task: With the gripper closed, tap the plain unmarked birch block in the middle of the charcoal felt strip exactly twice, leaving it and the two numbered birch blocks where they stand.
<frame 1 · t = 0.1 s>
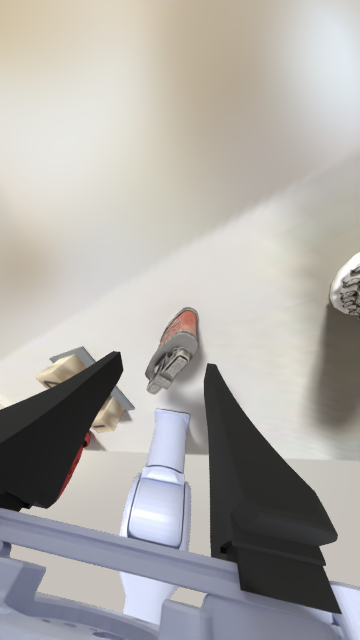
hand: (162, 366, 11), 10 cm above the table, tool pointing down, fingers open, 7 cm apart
block one: (111, 404, 31), resting on felt strip
block seven: (74, 364, 27), resting on felt strip
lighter: (178, 327, 21), on the table
felt strip: (96, 384, 29), on the table
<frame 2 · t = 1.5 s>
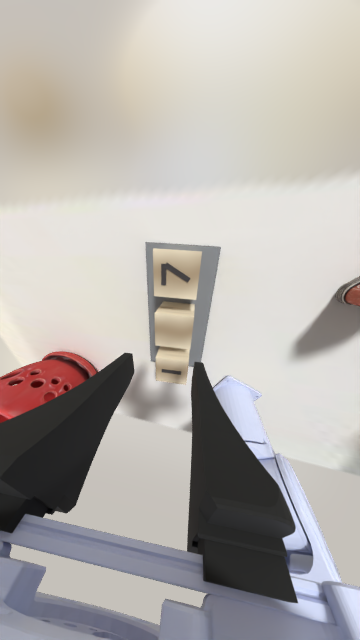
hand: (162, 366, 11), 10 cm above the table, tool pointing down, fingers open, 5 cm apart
block one: (175, 351, 23), resting on felt strip
block seven: (180, 271, 17), resting on felt strip
felt strip: (178, 315, 20), on the table
plain block: (177, 316, 20), resting on felt strip
plant pot: (75, 367, 28), on the table
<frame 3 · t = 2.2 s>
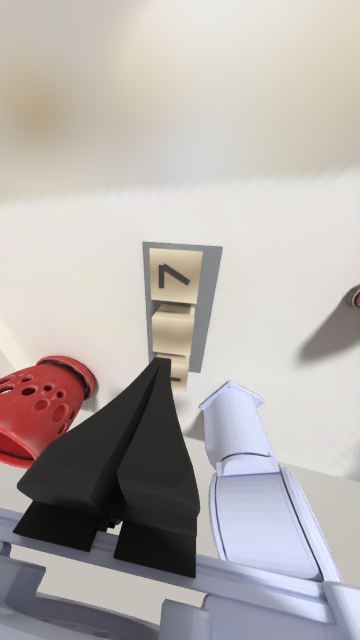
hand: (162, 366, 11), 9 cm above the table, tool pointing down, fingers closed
block one: (175, 355, 22), resting on felt strip
block seven: (180, 272, 16), resting on felt strip
felt strip: (177, 319, 19), on the table
plain block: (177, 320, 19), resting on felt strip
plant pot: (71, 371, 27), on the table
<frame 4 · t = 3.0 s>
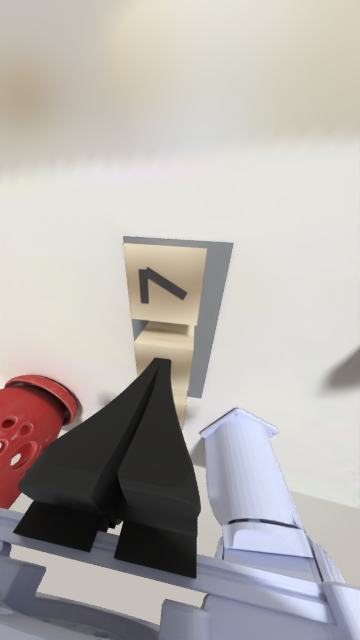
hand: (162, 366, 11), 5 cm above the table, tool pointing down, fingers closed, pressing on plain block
block one: (170, 378, 18), resting on felt strip
block seven: (174, 278, 12), resting on felt strip
felt strip: (172, 336, 15), on the table
plain block: (172, 338, 15), resting on felt strip, touching gripper
plant pot: (50, 391, 23), on the table
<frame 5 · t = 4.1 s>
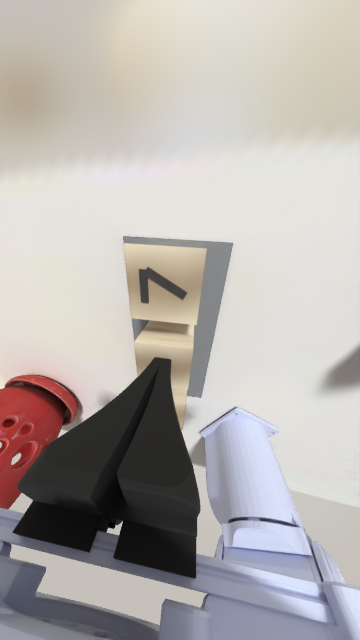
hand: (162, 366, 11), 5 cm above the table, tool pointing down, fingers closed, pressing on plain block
block one: (170, 378, 18), resting on felt strip
block seven: (174, 277, 12), resting on felt strip
felt strip: (172, 335, 15), on the table
plain block: (172, 337, 15), resting on felt strip, touching gripper
plant pot: (50, 391, 23), on the table
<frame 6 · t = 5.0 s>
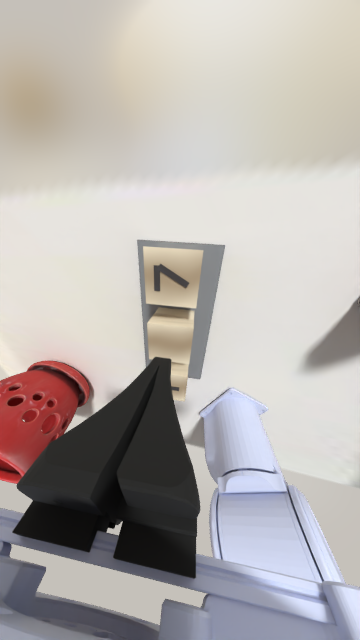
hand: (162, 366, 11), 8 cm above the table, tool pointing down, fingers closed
block one: (173, 361, 20), resting on felt strip
block seven: (178, 273, 15), resting on felt strip
felt strip: (176, 323, 18), on the table
plain block: (175, 324, 18), resting on felt strip
plant pot: (65, 377, 26), on the table
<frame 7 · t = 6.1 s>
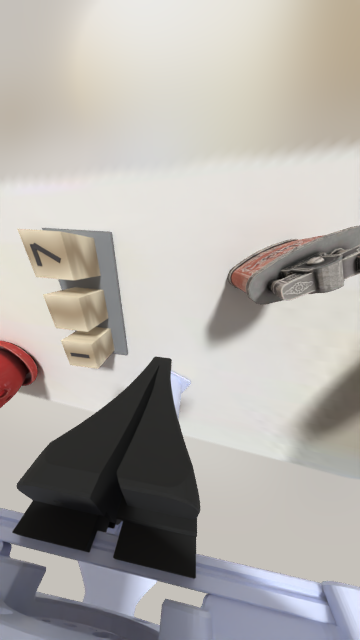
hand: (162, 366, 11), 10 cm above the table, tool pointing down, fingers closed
block one: (100, 338, 23), resting on felt strip
block seven: (81, 256, 18), resting on felt strip
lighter: (260, 265, 16), on the table
felt strip: (94, 302, 21), on the table
plain block: (92, 303, 20), resting on felt strip
plant pot: (16, 357, 29), on the table
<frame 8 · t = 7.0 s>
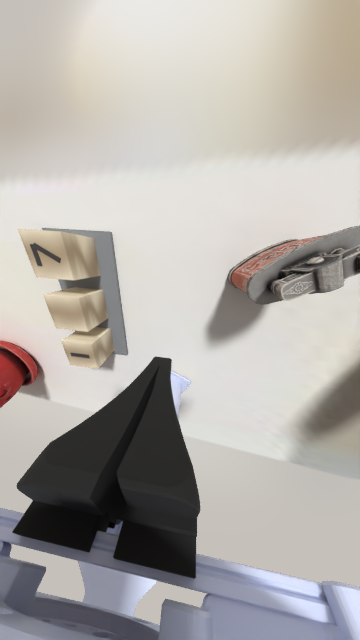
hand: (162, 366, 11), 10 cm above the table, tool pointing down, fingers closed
block one: (100, 338, 23), resting on felt strip
block seven: (81, 256, 18), resting on felt strip
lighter: (260, 265, 16), on the table
felt strip: (94, 302, 21), on the table
plain block: (92, 303, 20), resting on felt strip
plant pot: (16, 357, 29), on the table
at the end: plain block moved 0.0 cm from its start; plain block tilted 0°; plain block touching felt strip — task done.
